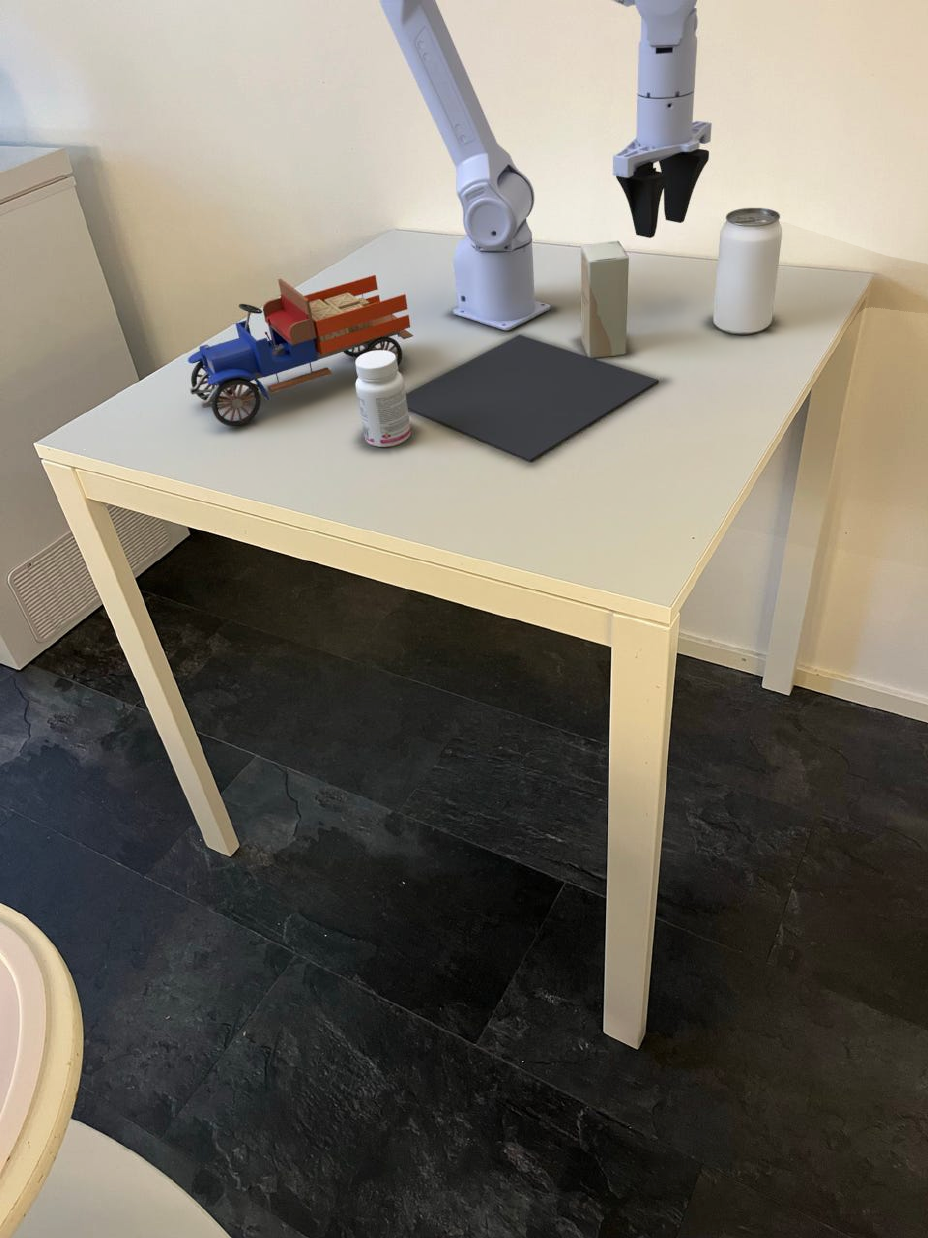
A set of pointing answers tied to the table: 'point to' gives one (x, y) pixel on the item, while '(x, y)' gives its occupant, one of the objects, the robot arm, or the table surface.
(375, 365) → the pill bottle
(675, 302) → the table surface
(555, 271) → the table surface
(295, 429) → the table surface
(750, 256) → the can
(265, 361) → the toy truck
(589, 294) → the box
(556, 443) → the mat
